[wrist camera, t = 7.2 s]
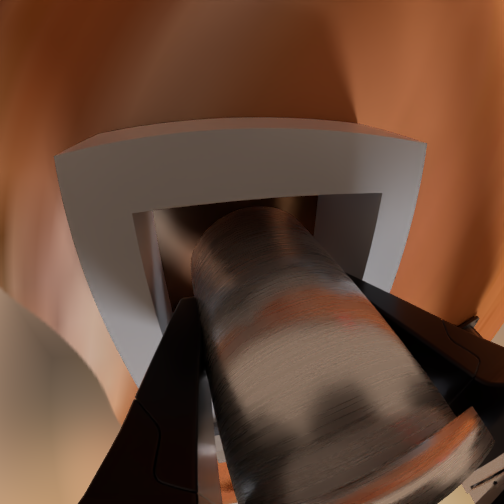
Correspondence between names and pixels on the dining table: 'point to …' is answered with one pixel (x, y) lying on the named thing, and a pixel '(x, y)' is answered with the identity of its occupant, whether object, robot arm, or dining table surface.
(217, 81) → the dining table surface
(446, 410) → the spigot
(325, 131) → the socket
